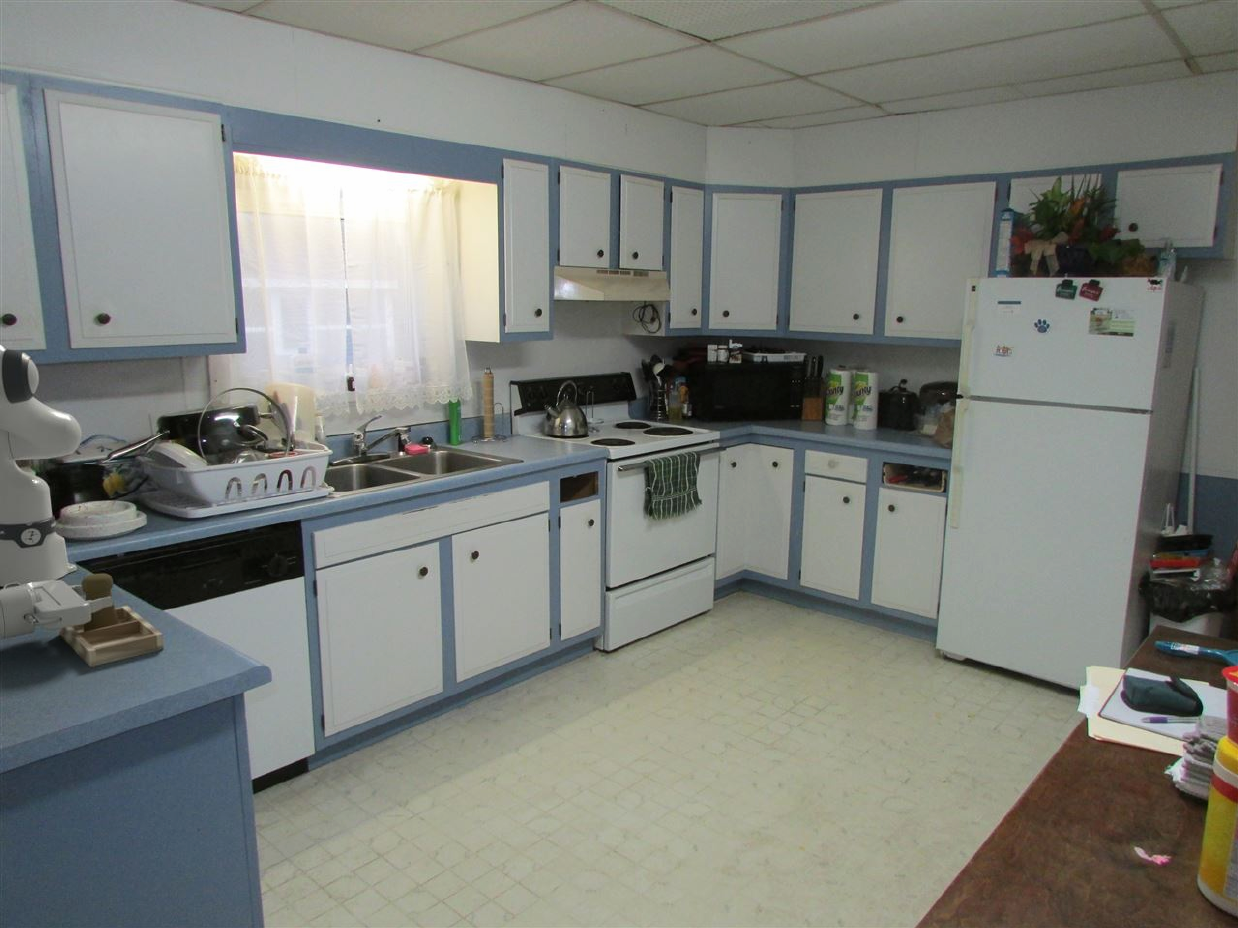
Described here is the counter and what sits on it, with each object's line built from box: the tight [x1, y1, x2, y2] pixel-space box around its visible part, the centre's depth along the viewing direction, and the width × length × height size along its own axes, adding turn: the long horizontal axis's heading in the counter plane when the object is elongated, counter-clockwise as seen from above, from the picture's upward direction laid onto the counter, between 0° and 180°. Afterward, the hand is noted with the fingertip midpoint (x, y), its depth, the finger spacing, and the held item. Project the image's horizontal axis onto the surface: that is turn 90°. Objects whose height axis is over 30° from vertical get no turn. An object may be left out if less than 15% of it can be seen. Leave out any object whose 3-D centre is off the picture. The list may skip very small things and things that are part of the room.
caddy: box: [58, 605, 164, 668], centre depth 161 cm, size 21×12×3 cm, turn 46°
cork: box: [81, 573, 119, 632], centre depth 164 cm, size 6×6×11 cm
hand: (104, 594), depth 164 cm, fingers open, 8 cm apart
